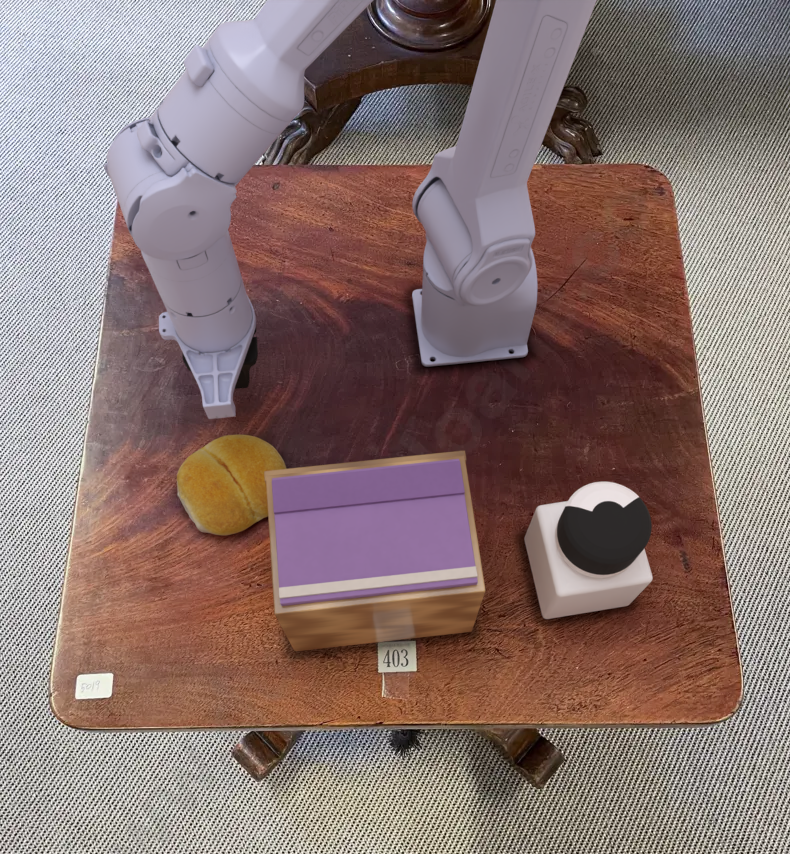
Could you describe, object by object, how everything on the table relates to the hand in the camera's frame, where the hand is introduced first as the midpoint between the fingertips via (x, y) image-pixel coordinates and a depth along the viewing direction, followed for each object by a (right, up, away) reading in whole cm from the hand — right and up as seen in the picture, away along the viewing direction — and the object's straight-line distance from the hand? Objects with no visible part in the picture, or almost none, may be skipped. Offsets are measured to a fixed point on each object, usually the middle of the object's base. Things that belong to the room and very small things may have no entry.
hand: (235, 381), depth 72 cm
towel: (+12, -12, -13) cm, 22 cm away
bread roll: (0, -9, 0) cm, 9 cm away
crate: (+12, -16, -3) cm, 20 cm away
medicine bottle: (+28, -16, -2) cm, 32 cm away
